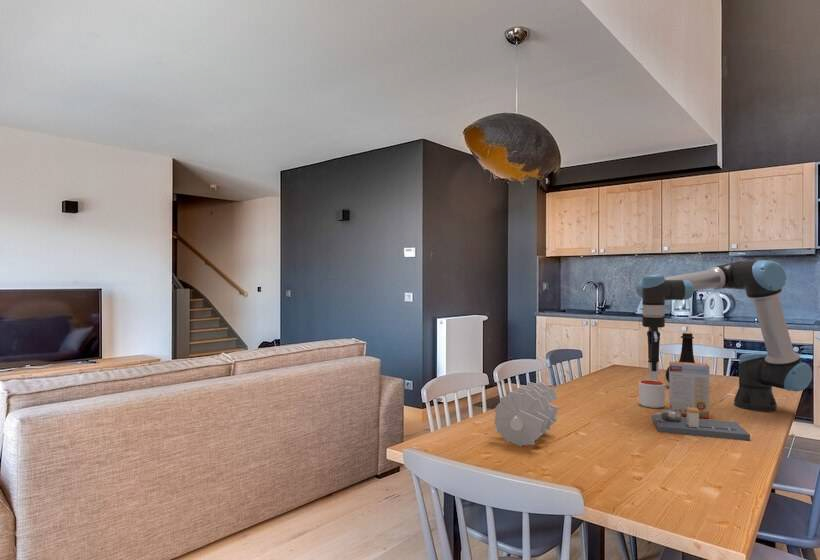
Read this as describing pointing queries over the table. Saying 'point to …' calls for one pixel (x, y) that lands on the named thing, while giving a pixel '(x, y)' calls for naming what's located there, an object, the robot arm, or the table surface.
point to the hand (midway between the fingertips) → (653, 379)
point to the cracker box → (689, 387)
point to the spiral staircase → (526, 413)
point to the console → (703, 428)
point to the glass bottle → (685, 351)
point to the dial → (668, 415)
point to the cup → (651, 394)
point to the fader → (692, 417)
